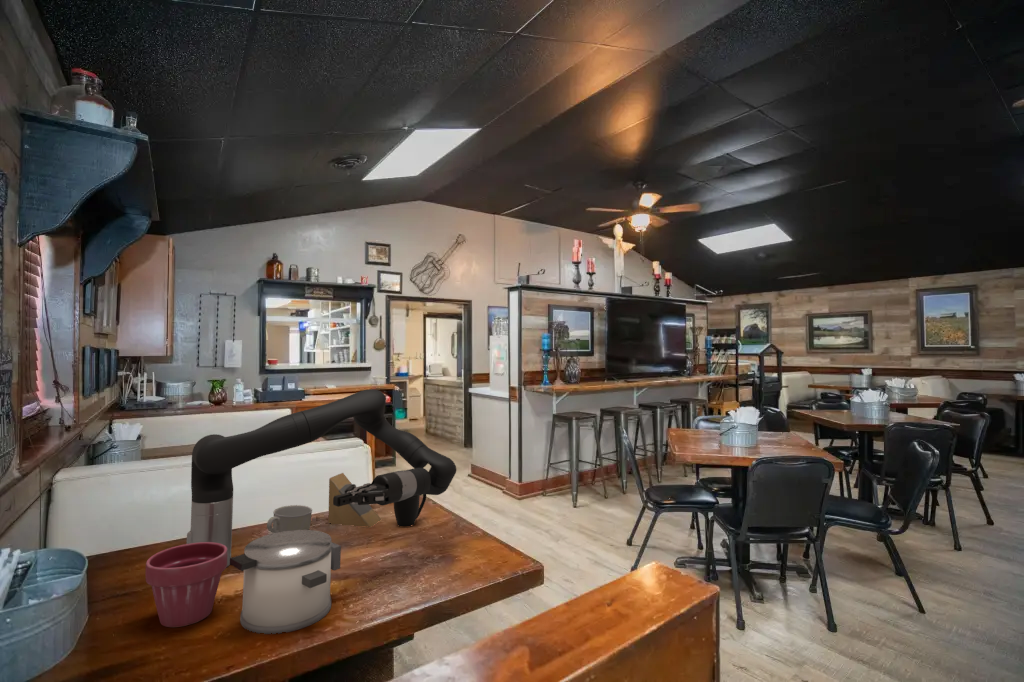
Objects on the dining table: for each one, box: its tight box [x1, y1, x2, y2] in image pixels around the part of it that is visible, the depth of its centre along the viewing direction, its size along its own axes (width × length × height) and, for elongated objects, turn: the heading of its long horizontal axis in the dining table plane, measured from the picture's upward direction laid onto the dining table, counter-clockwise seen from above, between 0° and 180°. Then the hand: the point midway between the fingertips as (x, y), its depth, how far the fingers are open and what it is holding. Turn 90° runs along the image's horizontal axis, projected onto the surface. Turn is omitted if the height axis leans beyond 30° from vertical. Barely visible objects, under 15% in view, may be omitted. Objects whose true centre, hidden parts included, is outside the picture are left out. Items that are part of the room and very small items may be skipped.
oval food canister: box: [239, 541, 342, 635], centre depth 109 cm, size 19×23×12 cm
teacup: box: [266, 504, 313, 534], centre depth 151 cm, size 14×11×8 cm
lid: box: [229, 529, 333, 572], centre depth 107 cm, size 20×17×2 cm
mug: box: [393, 494, 427, 527], centre depth 166 cm, size 8×12×10 cm
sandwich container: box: [328, 472, 382, 528], centre depth 167 cm, size 9×15×15 cm, turn 79°
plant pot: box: [145, 542, 228, 628], centre depth 105 cm, size 14×14×13 cm
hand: (335, 501), depth 117 cm, fingers closed
